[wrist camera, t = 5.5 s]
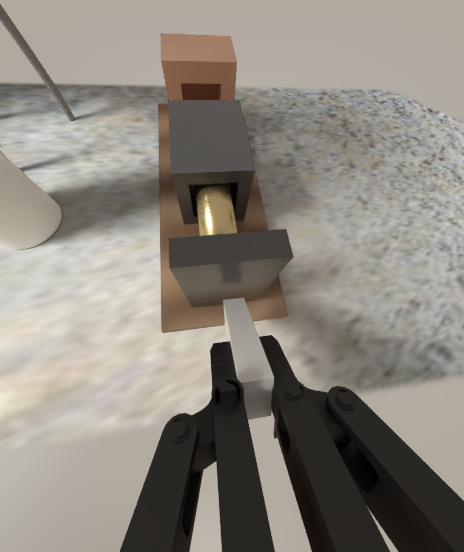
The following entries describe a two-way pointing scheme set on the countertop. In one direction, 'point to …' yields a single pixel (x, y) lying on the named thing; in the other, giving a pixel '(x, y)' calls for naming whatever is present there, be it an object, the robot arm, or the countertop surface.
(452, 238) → the countertop surface
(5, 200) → the cylindrical container
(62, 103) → the citrus juicer
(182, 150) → the metal sleeve
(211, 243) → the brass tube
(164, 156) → the walnut board
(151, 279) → the countertop surface
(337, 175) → the countertop surface
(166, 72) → the terracotta socket
